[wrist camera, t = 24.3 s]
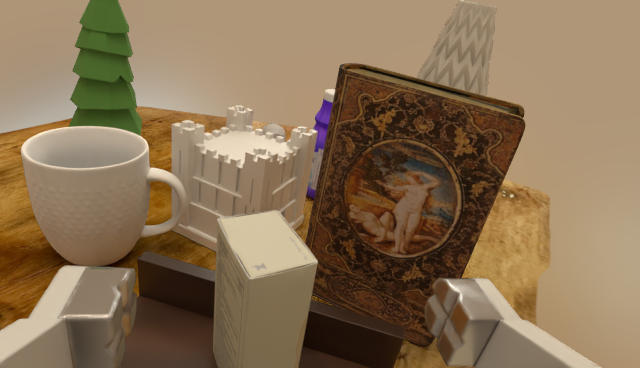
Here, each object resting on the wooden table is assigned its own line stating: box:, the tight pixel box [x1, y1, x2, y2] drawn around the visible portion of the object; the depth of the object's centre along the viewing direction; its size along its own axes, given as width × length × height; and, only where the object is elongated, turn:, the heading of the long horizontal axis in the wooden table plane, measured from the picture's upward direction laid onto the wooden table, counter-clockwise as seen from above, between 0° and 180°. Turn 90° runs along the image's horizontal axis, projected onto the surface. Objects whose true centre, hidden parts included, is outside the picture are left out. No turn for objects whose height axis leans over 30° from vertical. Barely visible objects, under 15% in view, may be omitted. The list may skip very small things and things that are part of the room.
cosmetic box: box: [213, 210, 318, 368], centre depth 26 cm, size 6×4×12 cm
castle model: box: [172, 105, 318, 251], centre depth 50 cm, size 13×15×14 cm
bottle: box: [307, 89, 335, 199], centre depth 62 cm, size 7×6×17 cm
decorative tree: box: [69, 0, 142, 136], centre depth 52 cm, size 10×9×30 cm
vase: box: [416, 0, 497, 96], centre depth 64 cm, size 17×17×33 cm
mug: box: [21, 126, 187, 267], centre depth 42 cm, size 15×11×13 cm
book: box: [305, 63, 525, 347], centre depth 39 cm, size 16×6×25 cm, turn 64°
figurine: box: [262, 123, 286, 142], centre depth 75 cm, size 8×5×12 cm
